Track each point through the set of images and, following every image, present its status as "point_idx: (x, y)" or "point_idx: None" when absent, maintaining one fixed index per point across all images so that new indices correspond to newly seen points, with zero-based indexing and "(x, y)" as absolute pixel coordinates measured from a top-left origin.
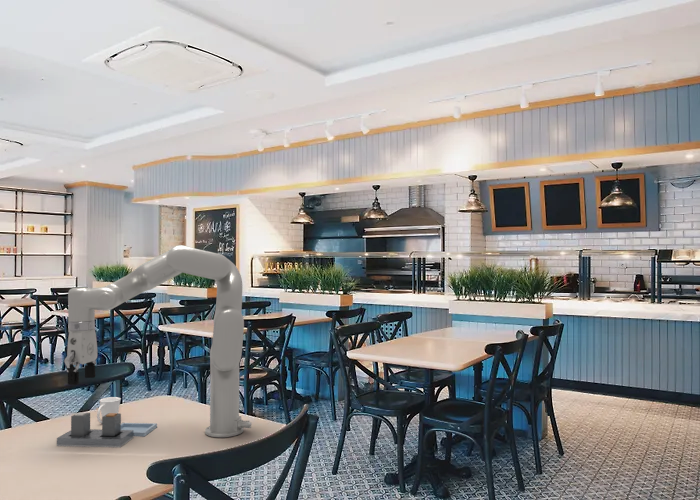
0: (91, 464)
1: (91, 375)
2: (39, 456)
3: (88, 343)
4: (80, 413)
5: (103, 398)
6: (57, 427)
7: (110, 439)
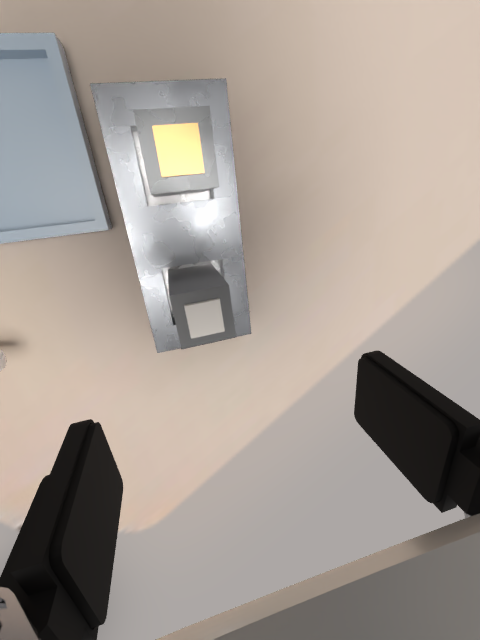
0: (356, 118)
1: (102, 452)
2: (306, 316)
3: None
4: (204, 321)
5: None
6: None
7: (230, 130)
